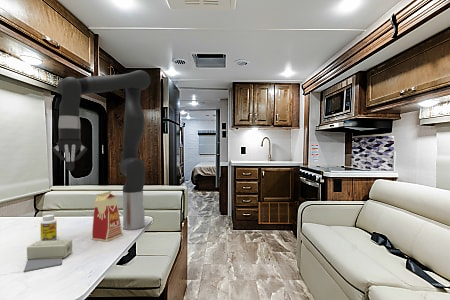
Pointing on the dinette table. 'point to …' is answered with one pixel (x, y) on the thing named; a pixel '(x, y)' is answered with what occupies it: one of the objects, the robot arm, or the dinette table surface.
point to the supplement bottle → (48, 228)
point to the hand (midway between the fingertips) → (70, 170)
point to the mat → (42, 263)
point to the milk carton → (106, 218)
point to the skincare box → (49, 249)
